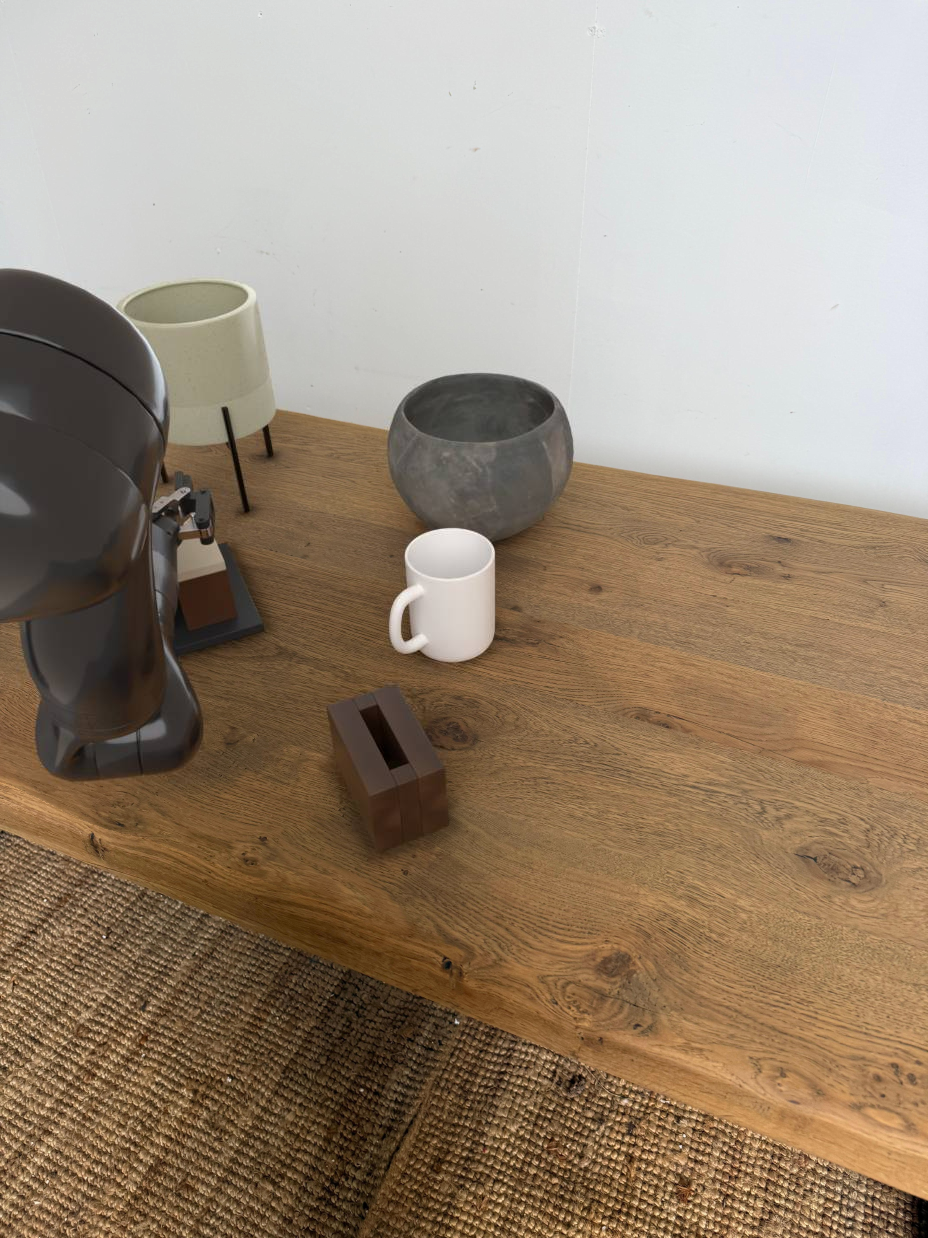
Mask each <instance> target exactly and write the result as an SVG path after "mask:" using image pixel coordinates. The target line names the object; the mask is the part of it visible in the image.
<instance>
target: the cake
mask: <svg viewBox="0 0 928 1238" xmlns="http://www.w3.org/2000/svg"><path fill="white" fill-rule="evenodd" d="M179 510H180V506H179ZM162 514H163V515H164V512H163V513H162ZM190 519H191V517H190V518H189V519H188V520H190ZM188 520H187V521H186V522H184V525H185V524H187V523H188ZM177 572H178V585H179V595H178V604H177V610H176V615H175V647H176V653H177V656H178V657H179V656H182V655H186V654H190V653H192V652H196V651H200V650H203V649H206V648H209V647H213V646H217V645H219V644H222V643H226V642H230V641H233V640H236V639H240V638H244V637H246V636H250V635H253V634H256V633H260V632H264V631H265V628H264V622H263V620H262V618H261V616H260V613H259V611H258V609H257V607H256V605H255V602H254V600H253V598H252V595H251V593H250V591H249V589H248V587H247V584H246V582H245V580H244V578H243V575H242V573H241V571H240V569H239V566H238V564H237V562H236V560H235V557H234V555H233V553H232V550H231V548H230V546H229V543H228V542H227V541H224V542H221V543H217V541H216V539H215V537H214V542H213V543H212V544H210V545H202V544H201V542H200V538H195V539H188V540H183V541H182V543H181V545H180V546H179V547H178V549H177Z"/></svg>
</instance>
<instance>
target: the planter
mask: <svg viewBox="0 0 928 1238" xmlns="http://www.w3.org/2000/svg"><path fill="white" fill-rule="evenodd" d="M115 308H116V309H117V310H119V311H120V312H121V313H122V314H123V315H125V316H126V317H127V318H128V319H129V320H130V321H131V322H132V323H133V324H134V325H135V326H136V328H137V329H138V330H139V331H140V332H141V333H142V334H143V336H144V337H145V338H146V339H147V341H148V342H149V344H150V346H151V347H152V349H153V351H154V352H155V354H156V356H157V357H158V359H159V361H160V364H161V366H162V369H163V372H164V375H165V378H166V381H167V385H168V390H169V399H170V428H169V433H168V443H167V444H172V445H176V446H183V447H184V446H185V447H207V446H215V445H222V444H225V445H226V447H227V448H228V450H229V451H230V455H231V460H232V466H233V469H234V474H235V478H236V483H237V487H238V492H239V496H240V501H241V504H242V511H243V512H244V513H245V514H247V513H249V512H251V510H250V506H249V500H248V496H247V491H246V487H245V482H244V478H243V473H242V468H241V463H240V459H239V454H238V449H237V445H236V444H237V443H236V441H238V440H241V439H243V438H246V437H249V436H251V435H253V434H255V433H257V432H259V431H261V430H262V434H263V441H264V446H265V451H266V455H267V457H273V456H274V449H273V443H272V438H271V432H270V426H269V424H270V423H271V421H272V420H273V419H274V417H275V415H276V411H277V406H276V399H275V394H274V388H273V382H272V375H271V371H270V366H269V360H268V354H267V349H266V343H265V337H264V331H263V324H262V319H261V313H260V308H259V302H258V297H257V293H256V291H255V289H254V288H252V287H251V286H250V285H249V284H246V283H243V282H241V281H237V280H232V279H226V278H218V277H217V278H216V277H215V278H214V277H198V278H197V277H195V278H184V279H176V280H170V281H165V282H160V283H156V284H152V285H149V286H146V287H144V288H141V289H138V290H135V291H133V292H131V293H130V294H128V295H126V296H125V297H123V298H122V299H120V300H119V302H118V303H117V304H116V306H115ZM160 478H161V480H162V484H167V483H169V481H170V479H169V476H168V471H167V468H166V463H165V460H163V465H162V469H161V473H160Z"/></svg>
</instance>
